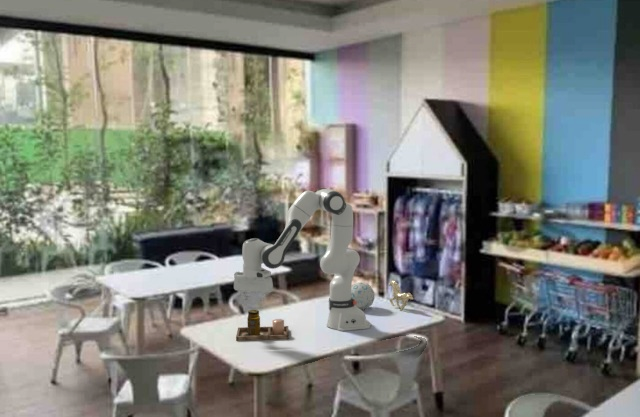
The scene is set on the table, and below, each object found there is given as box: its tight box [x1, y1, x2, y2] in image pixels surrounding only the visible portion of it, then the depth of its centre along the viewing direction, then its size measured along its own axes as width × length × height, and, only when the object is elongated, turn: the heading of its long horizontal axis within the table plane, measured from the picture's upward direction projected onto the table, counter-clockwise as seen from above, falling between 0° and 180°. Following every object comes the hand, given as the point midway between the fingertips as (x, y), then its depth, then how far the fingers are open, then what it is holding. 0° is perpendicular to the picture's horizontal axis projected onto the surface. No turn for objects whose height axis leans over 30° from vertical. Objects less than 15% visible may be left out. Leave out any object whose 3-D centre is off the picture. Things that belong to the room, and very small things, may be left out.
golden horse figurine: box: [388, 277, 414, 311], centre depth 324 cm, size 20×4×17 cm, turn 35°
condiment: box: [243, 309, 263, 336], centre depth 279 cm, size 7×8×12 cm
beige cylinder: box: [271, 318, 285, 335], centre depth 280 cm, size 6×6×7 cm
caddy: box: [235, 325, 290, 342], centre depth 280 cm, size 25×14×2 cm, turn 94°
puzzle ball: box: [351, 282, 375, 310], centre depth 325 cm, size 15×15×15 cm
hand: (253, 300), depth 278 cm, fingers open, 8 cm apart
